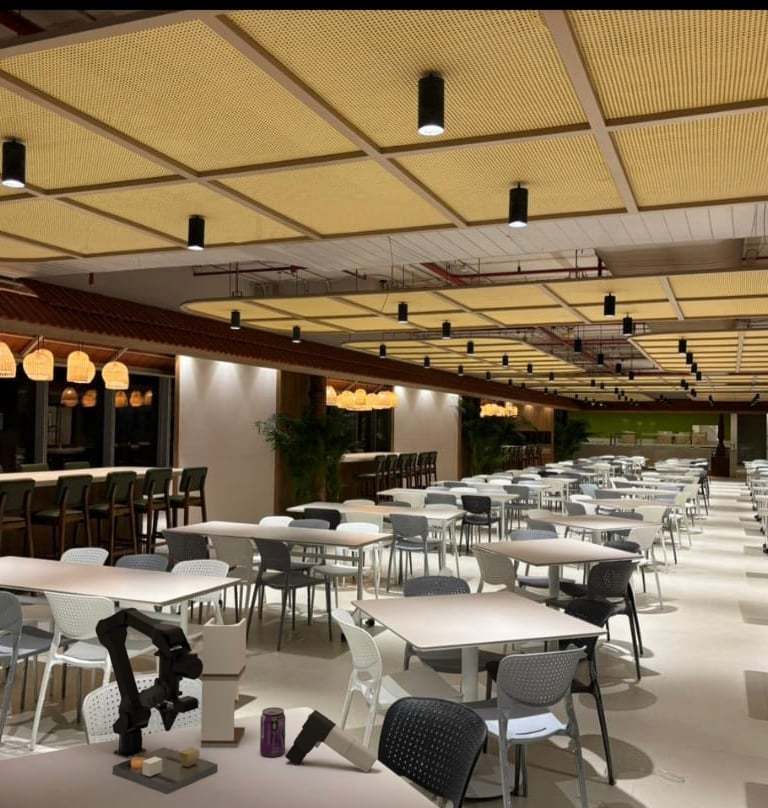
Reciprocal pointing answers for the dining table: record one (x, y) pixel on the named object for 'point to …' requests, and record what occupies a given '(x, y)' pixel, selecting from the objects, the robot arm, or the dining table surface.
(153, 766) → the beige block
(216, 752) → the dining table surface
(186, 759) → the tan block
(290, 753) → the handheld device
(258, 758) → the dining table surface
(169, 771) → the plate
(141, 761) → the orange push button
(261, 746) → the beverage can
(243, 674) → the beige tower stand
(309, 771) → the dining table surface
